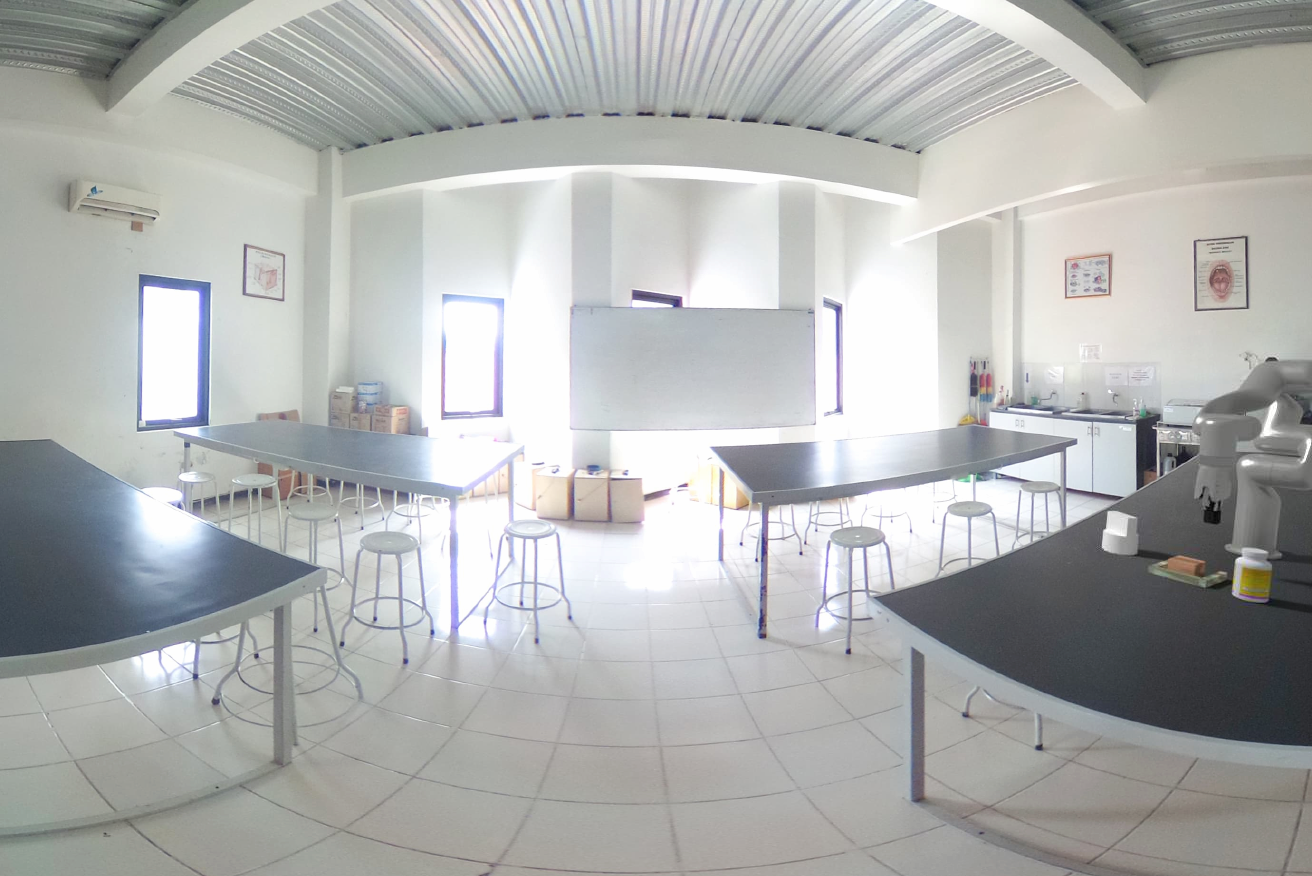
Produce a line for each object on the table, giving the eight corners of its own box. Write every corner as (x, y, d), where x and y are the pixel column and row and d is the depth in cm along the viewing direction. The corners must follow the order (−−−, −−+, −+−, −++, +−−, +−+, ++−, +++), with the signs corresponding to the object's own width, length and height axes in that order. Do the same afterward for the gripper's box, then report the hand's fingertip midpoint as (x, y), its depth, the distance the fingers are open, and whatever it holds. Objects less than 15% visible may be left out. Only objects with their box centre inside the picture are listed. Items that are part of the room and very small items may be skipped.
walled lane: (1169, 565, 173) (1170, 559, 173) (1226, 579, 161) (1227, 573, 161) (1147, 572, 168) (1148, 565, 167) (1205, 587, 156) (1206, 580, 156)
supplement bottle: (1275, 604, 145) (1282, 555, 143) (1244, 602, 146) (1250, 554, 145) (1254, 594, 151) (1260, 546, 150) (1224, 592, 153) (1229, 545, 151)
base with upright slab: (1144, 554, 183) (1148, 518, 181) (1115, 555, 183) (1119, 518, 181) (1122, 546, 191) (1125, 510, 190) (1094, 546, 192) (1097, 511, 190)
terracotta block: (1177, 571, 168) (1179, 555, 168) (1203, 578, 163) (1205, 561, 162) (1166, 575, 166) (1168, 558, 165) (1193, 582, 160) (1194, 565, 160)
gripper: (1212, 455, 171) (1207, 515, 174) (1186, 463, 165) (1182, 524, 168) (1246, 459, 165) (1241, 521, 167) (1221, 467, 158) (1215, 531, 161)
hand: (1211, 522), depth 168 cm, fingers closed
